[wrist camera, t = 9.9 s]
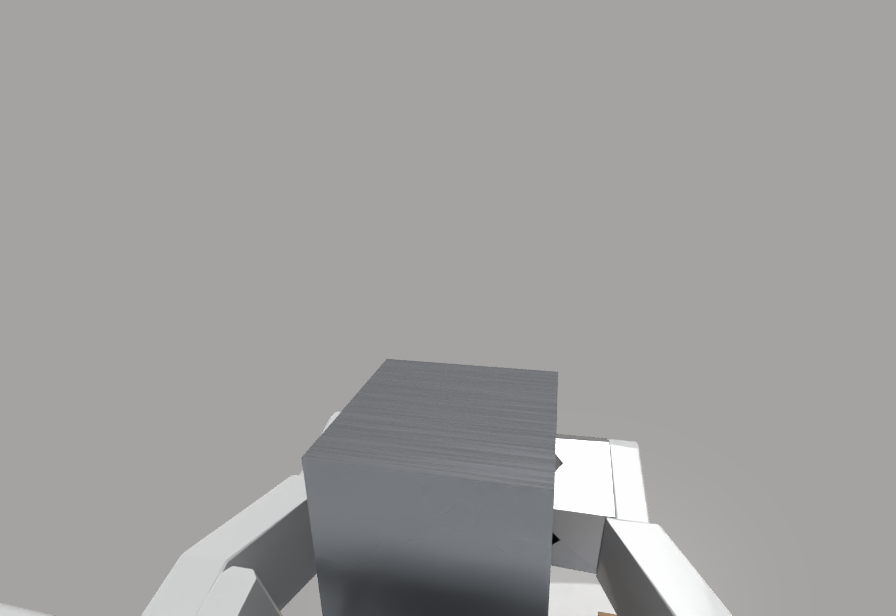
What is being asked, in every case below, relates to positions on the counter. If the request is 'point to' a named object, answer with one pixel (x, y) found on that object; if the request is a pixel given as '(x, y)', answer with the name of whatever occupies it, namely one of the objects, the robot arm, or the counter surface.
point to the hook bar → (436, 493)
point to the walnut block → (605, 614)
